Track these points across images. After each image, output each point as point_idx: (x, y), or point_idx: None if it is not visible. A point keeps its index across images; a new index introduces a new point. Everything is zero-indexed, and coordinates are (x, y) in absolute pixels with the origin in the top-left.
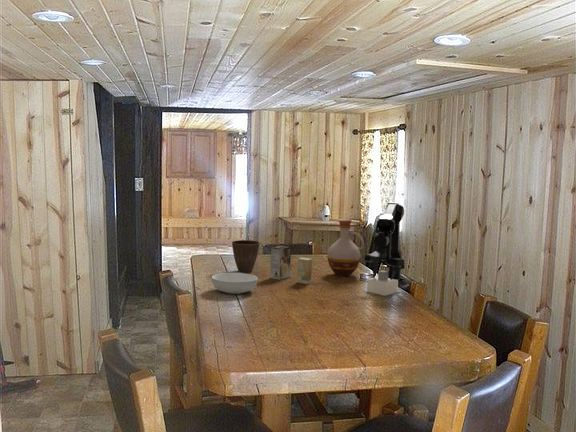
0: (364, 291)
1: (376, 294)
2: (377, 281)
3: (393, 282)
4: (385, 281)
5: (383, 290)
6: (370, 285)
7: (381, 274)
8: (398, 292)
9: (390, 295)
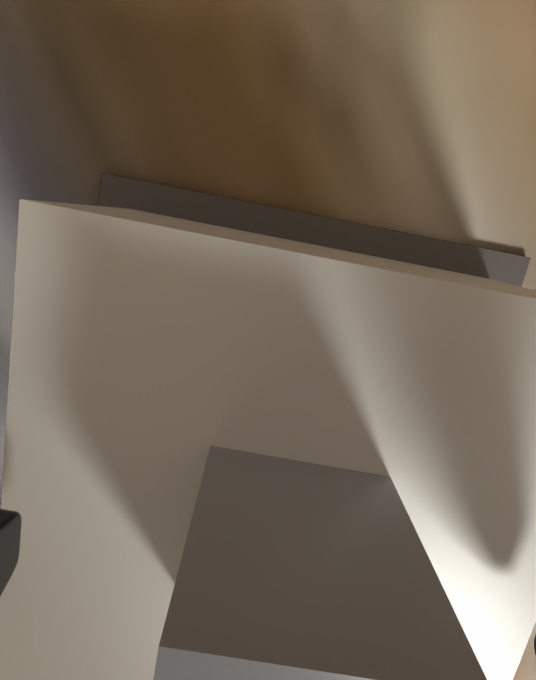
0: (527, 260)
1: (287, 210)
2: (311, 255)
3: None
4: (131, 390)
5: (146, 215)
6: (474, 281)
7: (301, 570)
8: None
9: None
